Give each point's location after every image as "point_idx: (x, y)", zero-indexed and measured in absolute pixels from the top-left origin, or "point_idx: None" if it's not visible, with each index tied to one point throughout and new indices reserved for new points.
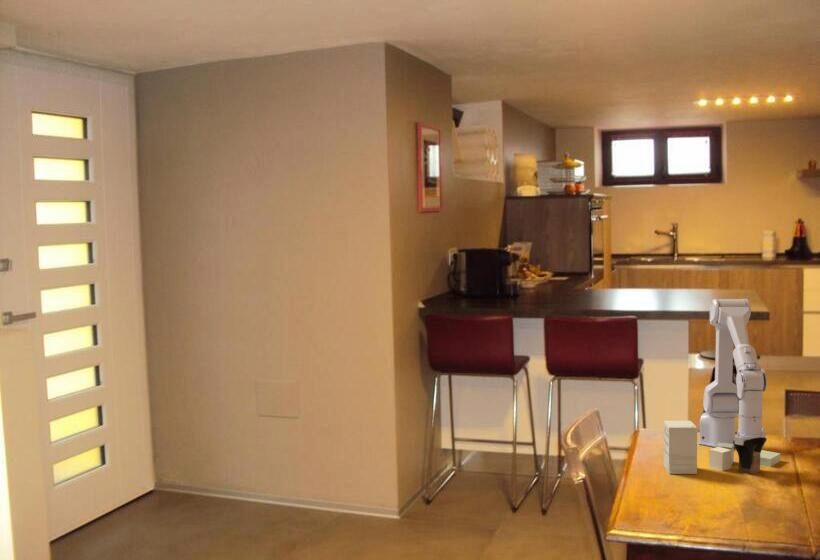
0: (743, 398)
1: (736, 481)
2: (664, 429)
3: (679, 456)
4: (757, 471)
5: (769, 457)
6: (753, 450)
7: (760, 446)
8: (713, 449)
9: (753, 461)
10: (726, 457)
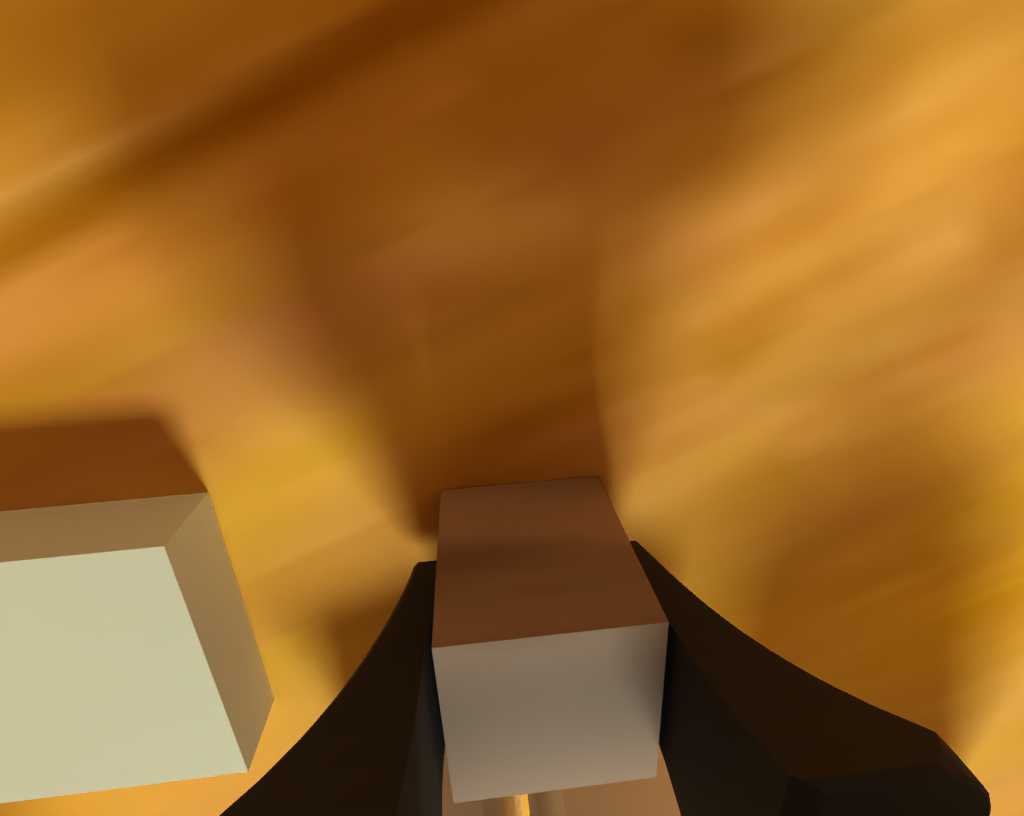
0: None
1: (887, 483)
2: None
3: None
4: (506, 490)
5: (103, 584)
6: (766, 697)
7: (412, 746)
8: None
9: (641, 570)
10: (650, 787)
